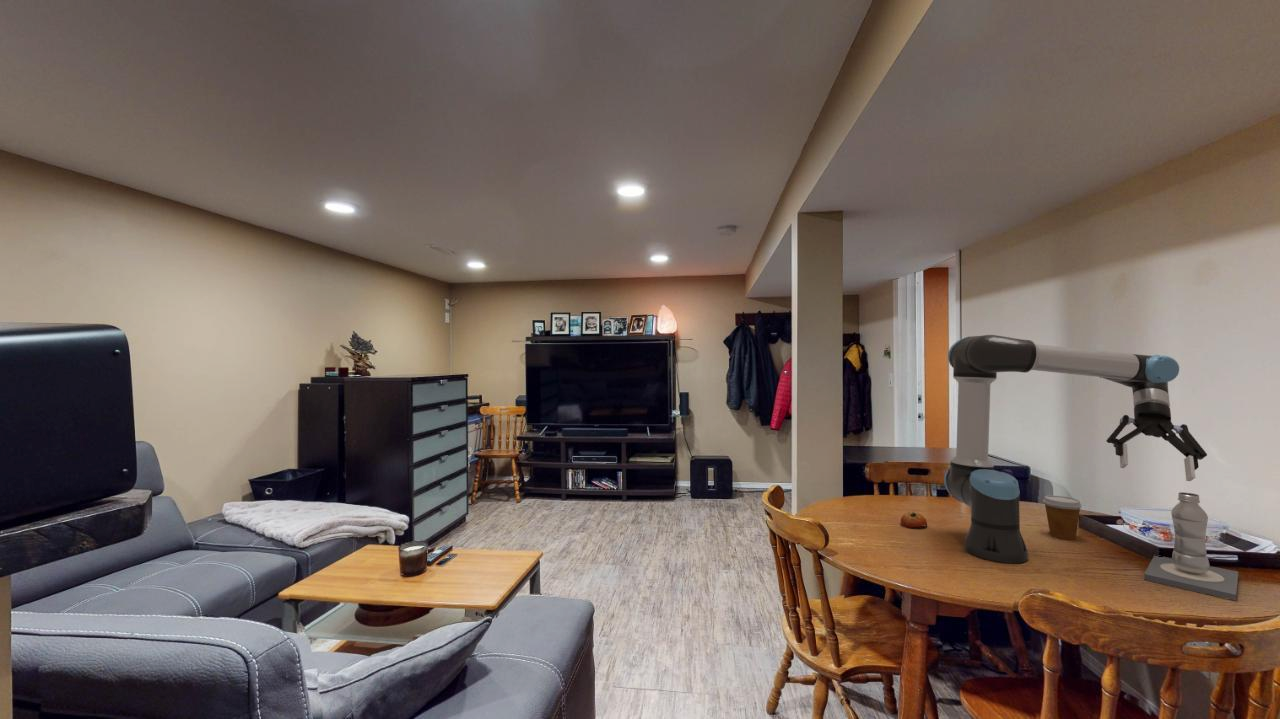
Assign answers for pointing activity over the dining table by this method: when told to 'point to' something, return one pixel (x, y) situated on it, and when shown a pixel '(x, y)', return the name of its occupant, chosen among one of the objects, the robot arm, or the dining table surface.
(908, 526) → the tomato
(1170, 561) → the board
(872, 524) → the dining table surface
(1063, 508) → the disposable coffee cup
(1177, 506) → the plastic bottle
